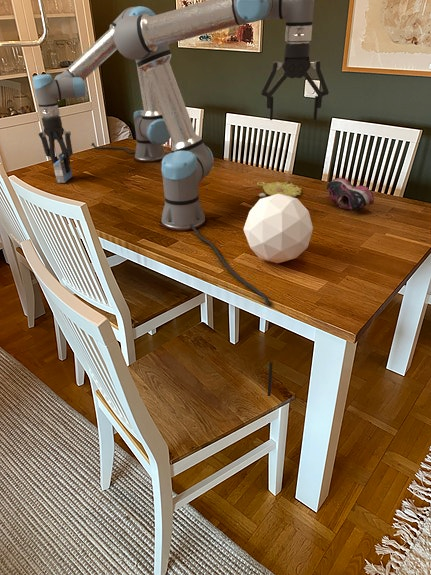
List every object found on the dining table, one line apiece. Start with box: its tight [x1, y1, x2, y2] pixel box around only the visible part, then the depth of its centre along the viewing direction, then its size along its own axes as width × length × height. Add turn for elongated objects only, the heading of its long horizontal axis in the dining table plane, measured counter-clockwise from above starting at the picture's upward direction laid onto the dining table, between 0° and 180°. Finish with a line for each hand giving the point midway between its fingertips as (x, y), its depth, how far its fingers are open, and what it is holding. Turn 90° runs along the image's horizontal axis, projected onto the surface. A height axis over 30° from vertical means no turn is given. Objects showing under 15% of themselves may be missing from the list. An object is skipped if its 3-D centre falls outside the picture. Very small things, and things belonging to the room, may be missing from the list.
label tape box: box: [52, 151, 73, 184], centre depth 194 cm, size 9×4×12 cm, turn 174°
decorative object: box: [256, 180, 302, 198], centre depth 178 cm, size 21×2×20 cm
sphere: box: [242, 194, 314, 264], centre depth 127 cm, size 19×20×20 cm
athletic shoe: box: [325, 177, 375, 211], centre depth 162 cm, size 11×22×12 cm
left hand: (63, 171), depth 195 cm, fingers closed on label tape box, 4 cm apart
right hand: (292, 119), depth 140 cm, fingers open, 13 cm apart
